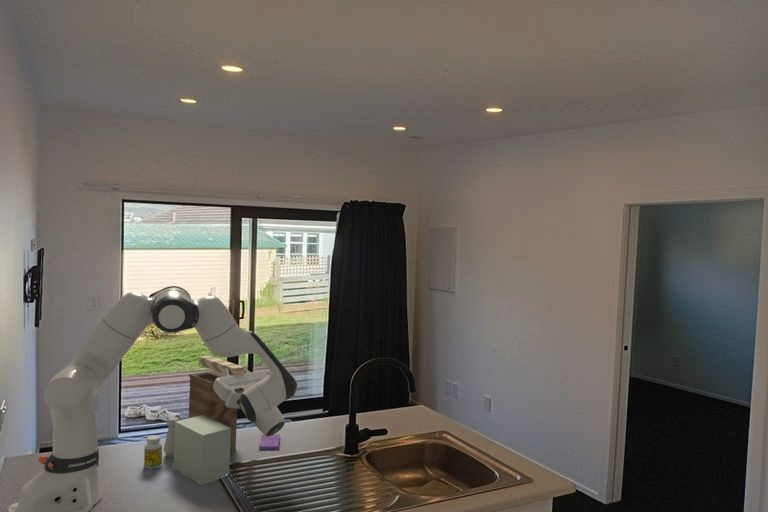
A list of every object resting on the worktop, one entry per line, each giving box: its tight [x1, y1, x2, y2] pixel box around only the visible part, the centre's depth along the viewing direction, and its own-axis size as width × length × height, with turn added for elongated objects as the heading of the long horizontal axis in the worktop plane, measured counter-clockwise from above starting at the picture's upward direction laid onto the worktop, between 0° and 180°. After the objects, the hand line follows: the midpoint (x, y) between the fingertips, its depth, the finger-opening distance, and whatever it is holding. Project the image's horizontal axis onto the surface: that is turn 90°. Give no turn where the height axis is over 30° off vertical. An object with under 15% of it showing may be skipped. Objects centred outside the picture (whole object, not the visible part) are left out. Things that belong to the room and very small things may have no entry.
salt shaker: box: [163, 416, 181, 459], centre depth 192 cm, size 6×6×13 cm
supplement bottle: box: [143, 434, 163, 469], centre depth 183 cm, size 5×5×10 cm
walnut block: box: [188, 370, 238, 451], centre depth 201 cm, size 12×15×26 cm
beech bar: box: [198, 355, 246, 376], centre depth 198 cm, size 23×4×3 cm, turn 49°
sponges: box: [258, 433, 281, 451], centre depth 208 cm, size 7×13×2 cm, turn 9°
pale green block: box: [172, 415, 231, 486], centre depth 180 cm, size 10×17×16 cm, turn 49°
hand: (232, 368), depth 193 cm, fingers closed on beech bar, 4 cm apart
